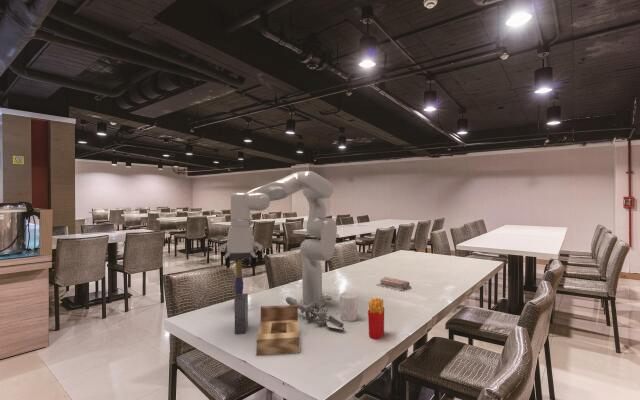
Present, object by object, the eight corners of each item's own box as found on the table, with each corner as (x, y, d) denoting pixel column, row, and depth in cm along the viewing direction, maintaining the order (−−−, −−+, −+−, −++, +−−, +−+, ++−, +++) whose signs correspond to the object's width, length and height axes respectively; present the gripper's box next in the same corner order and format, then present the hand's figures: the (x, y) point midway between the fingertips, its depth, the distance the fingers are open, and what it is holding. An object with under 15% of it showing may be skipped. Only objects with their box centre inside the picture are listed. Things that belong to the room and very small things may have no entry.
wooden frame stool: (298, 330, 122) (297, 304, 122) (299, 352, 104) (299, 322, 104) (261, 332, 120) (261, 306, 120) (256, 355, 102) (256, 324, 102)
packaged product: (412, 280, 179) (402, 283, 173) (412, 289, 179) (402, 292, 173) (386, 275, 193) (376, 278, 186) (386, 283, 193) (376, 286, 186)
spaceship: (294, 291, 147) (282, 288, 142) (352, 317, 123) (340, 315, 117) (288, 308, 146) (276, 306, 140) (346, 338, 121) (334, 336, 116)
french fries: (376, 340, 112) (376, 304, 112) (365, 338, 114) (365, 302, 114) (387, 332, 119) (386, 297, 119) (376, 329, 122) (376, 295, 122)
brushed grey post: (248, 325, 128) (247, 293, 128) (245, 333, 120) (245, 299, 120) (238, 326, 127) (237, 293, 127) (234, 334, 119) (234, 299, 119)
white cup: (346, 323, 128) (345, 298, 129) (336, 317, 135) (335, 293, 136) (361, 319, 132) (361, 295, 132) (351, 313, 139) (351, 291, 139)
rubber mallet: (230, 312, 143) (230, 246, 143) (223, 308, 148) (222, 245, 149) (254, 306, 151) (254, 244, 151) (247, 302, 157) (246, 242, 157)
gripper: (263, 223, 129) (263, 265, 128) (220, 223, 127) (220, 266, 127) (261, 224, 121) (262, 268, 121) (215, 225, 119) (216, 270, 119)
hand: (240, 267), depth 124 cm, fingers open, 9 cm apart
